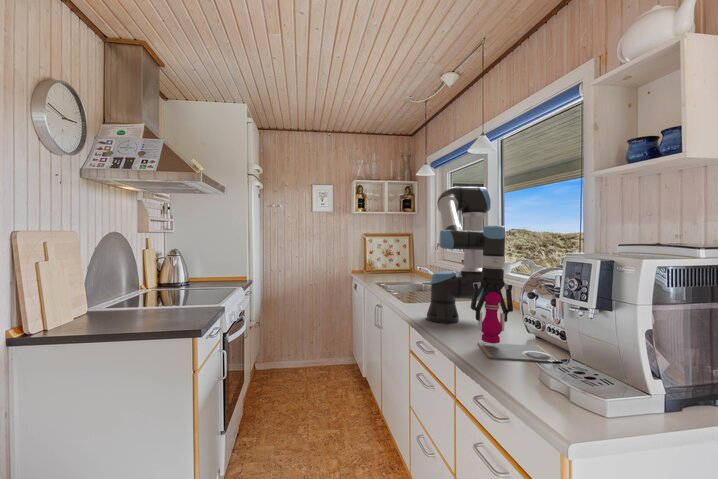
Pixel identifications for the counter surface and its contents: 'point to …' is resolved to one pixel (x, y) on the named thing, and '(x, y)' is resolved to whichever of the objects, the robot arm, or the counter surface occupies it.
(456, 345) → the counter surface
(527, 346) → the slate
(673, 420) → the counter surface
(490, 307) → the pepper mill
